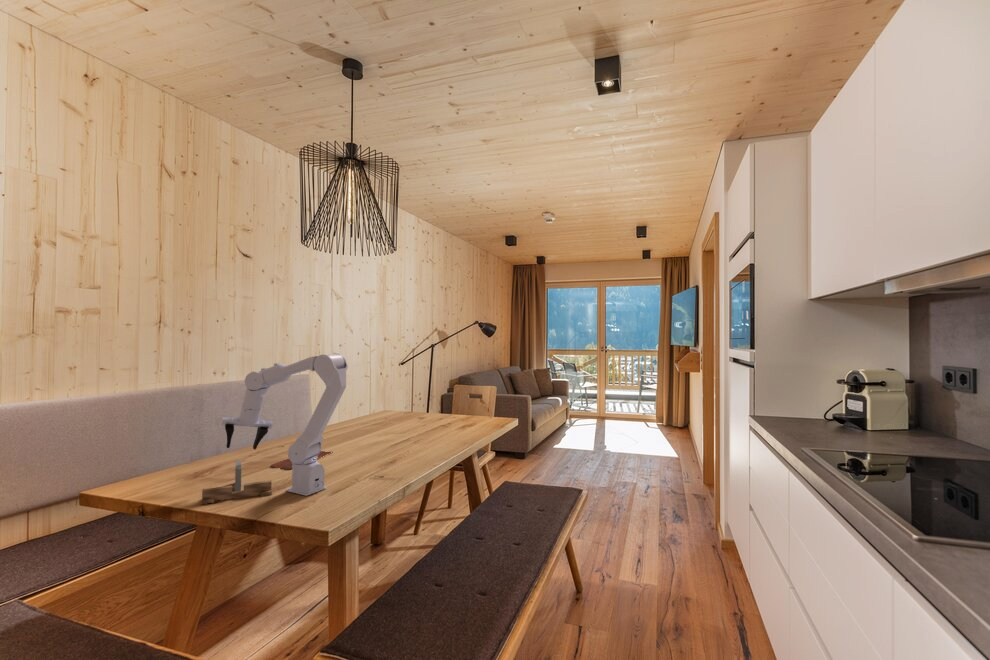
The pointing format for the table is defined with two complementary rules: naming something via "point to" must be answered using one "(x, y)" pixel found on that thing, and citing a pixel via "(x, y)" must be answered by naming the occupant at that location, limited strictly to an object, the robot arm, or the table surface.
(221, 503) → the table surface
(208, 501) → the walnut slotted stand
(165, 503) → the table surface
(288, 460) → the wooden tablet
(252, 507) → the table surface
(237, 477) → the grey long rectangular block
